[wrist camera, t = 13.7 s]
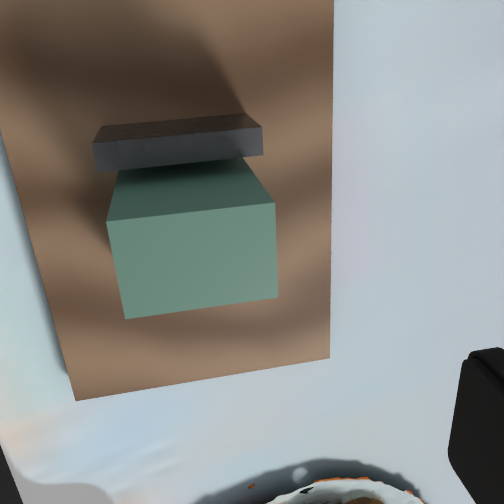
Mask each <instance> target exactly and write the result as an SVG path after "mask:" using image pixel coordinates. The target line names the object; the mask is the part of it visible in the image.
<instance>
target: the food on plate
mask: <svg viewBox="0 0 504 504" xmlns="http://www.w3.org/2000/svg"><path fill="white" fill-rule="evenodd" d="M253 486H254V484H252V485H251V486H250V487H249V488H250V489H251V488H252V487H253ZM310 487H314V488H312V489H311V490H309V491H308V493H309V494H303V493H300V491H302V490H304V489H306V488H310ZM315 501H320V502H322V503H325V502H327V501H328V502H329V503H328V504H424V501H422V500H421V499H420V498H418V497H414V495H413V493H412V492H411V491H408V490H405V491H404V492H403V491H401V490H399V489H396V488H394V487H392V486H390V485H387V484H384V483H383V482H382V481H378V482H374V481H371V480H370V479H369V478H368V477H359V478H357V479H353V478H349V477H347V478H343V479H341V478H339V477H337V478H330V479H323V480H314V483H313V484H311V485H309V486H307V487H303V488H300V489H298V490H296V491H294V492H292V493H290V494H286V495H281V496H278V497H277V498H275V499H274V500H273V501H271V502H269V503H266V504H306V503H308V504H310V503H312V502H315Z"/></svg>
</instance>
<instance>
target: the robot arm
mask: <svg viewBox="0 0 504 504" xmlns="http://www.w3.org/2000/svg"><path fill="white" fill-rule="evenodd" d="M448 457H449V461H450V463H451V466H452V468H453V469H454V471H455V472H456V474H457V476H458V477H459V479H460V480H461V482H462V483H463V485H464V486H465V488H466V489H467V491H468V492H469V494H470V495H471V497H472V498H473V500H474V501H475V503H476V504H504V349H502V348H499V347H496V348H489V349H483V350H477V351H473V352H471V353H470V354H469V356H468V359H466V360H464V361H463V363H462V367H461V373H460V379H459V385H458V391H457V397H456V403H455V409H454V415H453V421H452V428H451V434H450V440H449V446H448ZM0 504H23V502H22V499H21V497H20V494H19V492H18V489H17V487H16V484H15V482H14V479H13V477H12V474H11V471H10V469H9V466H8V464H7V461H6V459H5V456H4V454H3V451H2V448H1V446H0Z"/></svg>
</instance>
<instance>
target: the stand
mask: <svg viewBox="0 0 504 504" xmlns="http://www.w3.org/2000/svg"><path fill="white" fill-rule="evenodd" d="M333 29H334V0H0V131H1V135H2V138H3V142H4V146H5V149H6V153H7V156H8V160H9V164H10V167H11V171H12V174H13V178H14V182H15V185H16V189H17V192H18V196H19V199H20V203H21V207H22V210H23V214H24V217H25V221H26V225H27V228H28V232H29V235H30V239H31V242H32V246H33V250H34V253H35V257H36V260H37V264H38V268H39V271H40V275H41V278H42V282H43V286H44V289H45V293H46V296H47V300H48V303H49V307H50V311H51V314H52V318H53V321H54V325H55V329H56V332H57V336H58V339H59V343H60V347H61V350H62V354H63V357H64V361H65V364H66V368H67V372H68V375H69V379H70V382H71V386H72V390H73V393H74V397H75V400H76V401H80V400H85V399H91V398H97V397H103V396H109V395H115V394H121V393H127V392H133V391H139V390H145V389H150V388H156V387H162V386H168V385H174V384H180V383H186V382H192V381H198V380H204V379H210V378H215V377H221V376H227V375H233V374H239V373H245V372H251V371H257V370H263V369H269V368H274V367H280V366H286V365H292V364H298V363H304V362H310V361H316V360H322V359H328V358H330V285H331V200H332V114H333ZM242 157H243V158H244V160H245V161H246V163H247V164H248V165H249V167H250V168H251V170H252V171H253V172H254V174H255V175H256V177H257V178H258V179H259V181H260V182H261V184H262V185H263V186H264V188H265V189H266V191H267V192H268V193H269V195H270V196H271V197H272V199H273V200H274V202H275V215H276V243H277V272H278V298H271V299H264V300H257V301H250V302H243V303H236V304H229V305H222V306H215V307H208V308H201V309H194V310H187V311H180V312H173V313H166V314H159V315H152V316H145V317H138V318H131V319H125V316H124V311H123V306H122V301H121V296H120V290H119V285H118V280H117V275H116V270H115V265H114V260H113V255H112V250H111V244H110V239H109V234H108V229H107V224H106V220H107V216H108V212H109V208H110V204H111V200H112V196H113V192H114V188H115V184H116V180H117V176H118V172H119V170H127V169H137V168H146V167H156V166H165V165H175V164H184V163H194V162H203V161H213V160H223V159H232V158H242Z"/></svg>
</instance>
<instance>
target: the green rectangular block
mask: <svg viewBox="0 0 504 504" xmlns="http://www.w3.org/2000/svg"><path fill="white" fill-rule="evenodd" d="M106 224H107V229H108V234H109V239H110V244H111V250H112V255H113V260H114V265H115V270H116V275H117V280H118V285H119V290H120V296H121V301H122V306H123V311H124V316H125V319H131V318H138V317H145V316H152V315H159V314H166V313H173V312H180V311H187V310H194V309H201V308H208V307H215V306H222V305H229V304H236V303H243V302H250V301H257V300H264V299H271V298H278V272H277V243H276V215H275V202H274V200H273V199H272V197H271V196H270V195H269V193H268V192H267V191H266V189H265V188H264V186H263V185H262V184H261V182H260V181H259V179H258V178H257V177H256V175H255V174H254V172H253V171H252V170H251V168H250V167H249V165H248V164H247V163H246V161H245V160H244V158H243V157H242V158H232V159H223V160H213V161H203V162H194V163H184V164H175V165H165V166H156V167H146V168H137V169H127V170H119V172H118V176H117V180H116V184H115V188H114V192H113V196H112V200H111V204H110V208H109V212H108V216H107V220H106Z"/></svg>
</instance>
